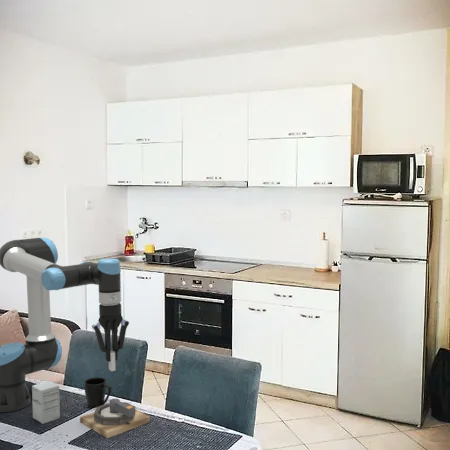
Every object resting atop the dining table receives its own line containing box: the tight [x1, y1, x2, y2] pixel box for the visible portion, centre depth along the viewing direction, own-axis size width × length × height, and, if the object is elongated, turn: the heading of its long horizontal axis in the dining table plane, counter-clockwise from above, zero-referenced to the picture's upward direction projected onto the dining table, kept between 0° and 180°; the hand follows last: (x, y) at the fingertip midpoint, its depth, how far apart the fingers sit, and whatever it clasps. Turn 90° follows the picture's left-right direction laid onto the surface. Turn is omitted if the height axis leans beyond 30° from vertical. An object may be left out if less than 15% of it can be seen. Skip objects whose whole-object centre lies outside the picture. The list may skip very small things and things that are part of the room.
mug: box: [84, 377, 113, 408], centre depth 212 cm, size 8×12×10 cm
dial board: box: [79, 401, 151, 439], centre depth 198 cm, size 18×18×4 cm
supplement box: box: [31, 380, 61, 425], centre depth 201 cm, size 7×7×13 cm
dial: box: [101, 398, 133, 417], centre depth 196 cm, size 15×10×6 cm, turn 45°
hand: (112, 369), depth 191 cm, fingers closed
